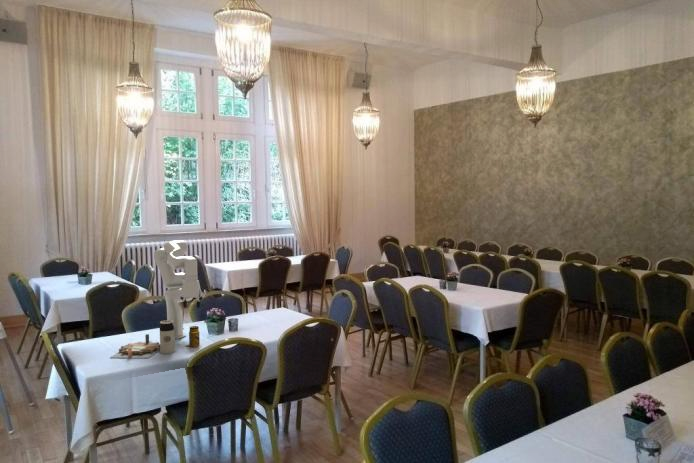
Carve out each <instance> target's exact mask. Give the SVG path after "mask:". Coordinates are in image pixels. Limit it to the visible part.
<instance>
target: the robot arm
mask: <svg viewBox="0 0 694 463" xmlns="http://www.w3.org/2000/svg"><path fill="white" fill-rule="evenodd" d="M188 249H189V248H188V244H187V242H186V241H184V240H172V241H171V240H170V241H167V242H166V243H164V245H163V247H162V248H157V249H155V251H154V253H153V258H154V263H155V265H156V267H157V268H158V270H159V272H160V276H161V279H162V282H163V286H164V287H165V288H166V289H167V290H165V292H164V298H165V303H166V320H172V321H173V326H174V340H177V339H183V338H185V337H186V333H184V329H185V328H184V324H183V323H184V322H183V321H184V320H183V316H184V315H183V308H184V309H186V308H188V302H190V301H192V300H193V299H194V298H195V299H196V308H197V309H199V308H200V307H201V300H203V298H204V297H205V296H206V293H204V292H203V291H202V290H201V285H200V284H201V283H200V280H198V278H199V277H198V259H197V257H194V256H191V255H188V256H187V255H186V254H187V252H188ZM185 255H186V256H185ZM175 270H184V271H183V272H176V271H175ZM179 303H183V305H182V306H183V308H182V306H181V305H180V304H179Z"/></svg>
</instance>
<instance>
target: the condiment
mask: <svg viewBox="0 0 694 463" xmlns="http://www.w3.org/2000/svg"><path fill="white" fill-rule="evenodd" d="M188 336H189V337H188V340H189V343H188V344H186V345H184V347H185V348H186V349H195V348H196V349H197V348H200V347H201V348H202V345H201V344H200V340H201V339H200V331H199V326H198V325H192V326H190V327H189V332H188Z"/></svg>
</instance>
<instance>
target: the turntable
mask: <svg viewBox="0 0 694 463" xmlns="http://www.w3.org/2000/svg"><path fill="white" fill-rule="evenodd" d="M144 336H145V341H138V342H134V343H133V342H132V343H131V342H130V343H128V344H125V345H121V346H120V348H118V352H121V354H125V353H126V354H128V348H132V354H143V353H149V352H150V353H152V352H153V351H155V350H159V351H160V342H158V341H156V342H152V340H151V341H150V334H149V333H145V335H144Z"/></svg>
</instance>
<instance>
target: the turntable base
mask: <svg viewBox="0 0 694 463" xmlns="http://www.w3.org/2000/svg"><path fill="white" fill-rule="evenodd" d="M158 352H160V350H155V351H153V352H152V353H150V352H149V353H143V354H132V348H128V354H126V353H125V354H121V352H119V351H118V352H116V353H115V354H113V355H110V357H109V359H143V360H144V359H150V358H151V357H153V356H154V355H155V354H157V353H158Z"/></svg>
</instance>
